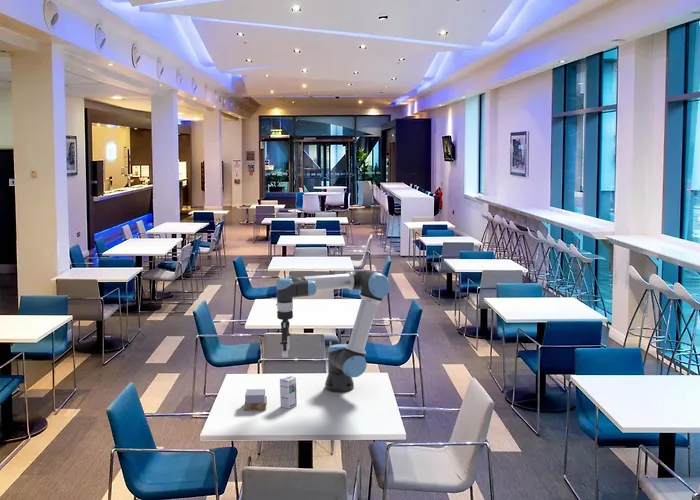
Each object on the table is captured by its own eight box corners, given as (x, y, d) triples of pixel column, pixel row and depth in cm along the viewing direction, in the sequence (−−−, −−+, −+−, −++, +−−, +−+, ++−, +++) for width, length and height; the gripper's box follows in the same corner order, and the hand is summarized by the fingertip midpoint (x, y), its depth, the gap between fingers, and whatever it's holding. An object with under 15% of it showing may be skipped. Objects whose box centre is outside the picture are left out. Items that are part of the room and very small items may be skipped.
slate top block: (265, 396, 369) (265, 389, 369) (264, 402, 361) (263, 395, 360) (246, 397, 369) (246, 389, 368) (245, 403, 360) (245, 395, 360)
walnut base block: (266, 404, 371) (266, 396, 370) (265, 411, 361) (265, 403, 360) (246, 404, 370) (246, 396, 370) (244, 411, 360) (244, 403, 360)
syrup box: (289, 409, 362) (288, 380, 360) (280, 406, 366) (279, 377, 364) (296, 405, 367) (296, 377, 365) (287, 403, 370) (287, 375, 368)
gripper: (278, 305, 373) (279, 346, 376) (275, 316, 348) (276, 360, 351) (293, 304, 373) (294, 346, 376) (291, 316, 348) (292, 360, 351)
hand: (285, 353), depth 363 cm, fingers open, 13 cm apart
